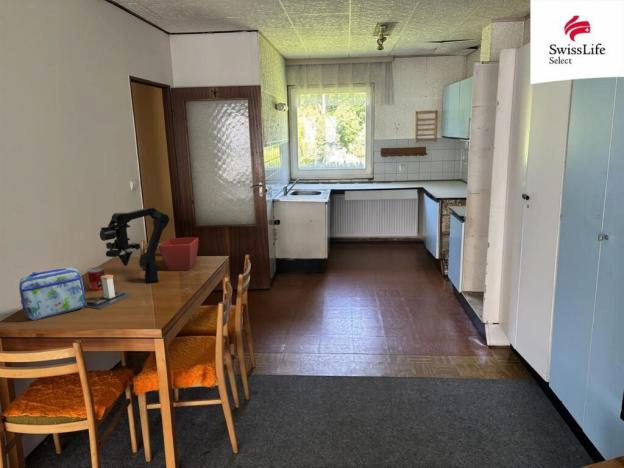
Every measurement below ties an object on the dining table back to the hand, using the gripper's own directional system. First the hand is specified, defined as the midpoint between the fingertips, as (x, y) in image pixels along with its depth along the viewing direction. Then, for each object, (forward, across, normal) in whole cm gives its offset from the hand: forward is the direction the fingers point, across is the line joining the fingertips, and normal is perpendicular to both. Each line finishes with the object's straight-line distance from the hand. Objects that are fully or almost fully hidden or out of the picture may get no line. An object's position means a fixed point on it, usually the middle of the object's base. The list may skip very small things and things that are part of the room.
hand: (125, 265), depth 248 cm
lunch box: (+13, +38, -8) cm, 41 cm away
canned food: (+13, +5, -17) cm, 22 cm away
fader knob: (+12, +16, +4) cm, 20 cm away
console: (+13, +17, +4) cm, 22 cm away
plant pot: (+13, -41, +2) cm, 43 cm away
